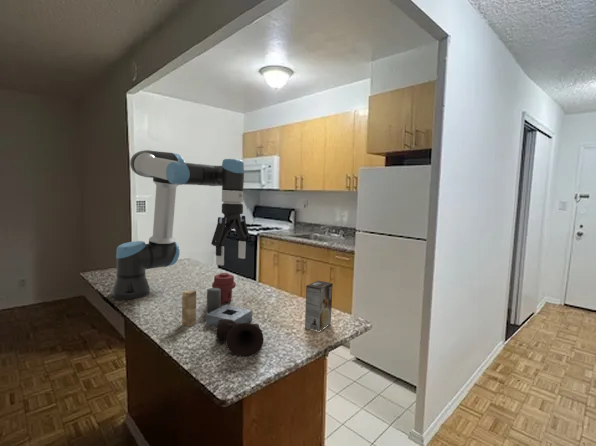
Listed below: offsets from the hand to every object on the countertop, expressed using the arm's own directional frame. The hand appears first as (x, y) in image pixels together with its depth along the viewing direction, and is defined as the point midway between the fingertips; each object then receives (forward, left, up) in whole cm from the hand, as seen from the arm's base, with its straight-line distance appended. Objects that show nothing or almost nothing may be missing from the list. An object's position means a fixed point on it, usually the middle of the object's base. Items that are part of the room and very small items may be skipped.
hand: (231, 261), depth 122 cm
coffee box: (+30, +13, -23) cm, 40 cm away
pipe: (+13, -13, -23) cm, 30 cm away
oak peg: (-12, -8, -23) cm, 27 cm away
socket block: (0, 0, -23) cm, 23 cm away
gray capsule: (-12, +6, -23) cm, 26 cm away
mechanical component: (-16, +18, -23) cm, 33 cm away
